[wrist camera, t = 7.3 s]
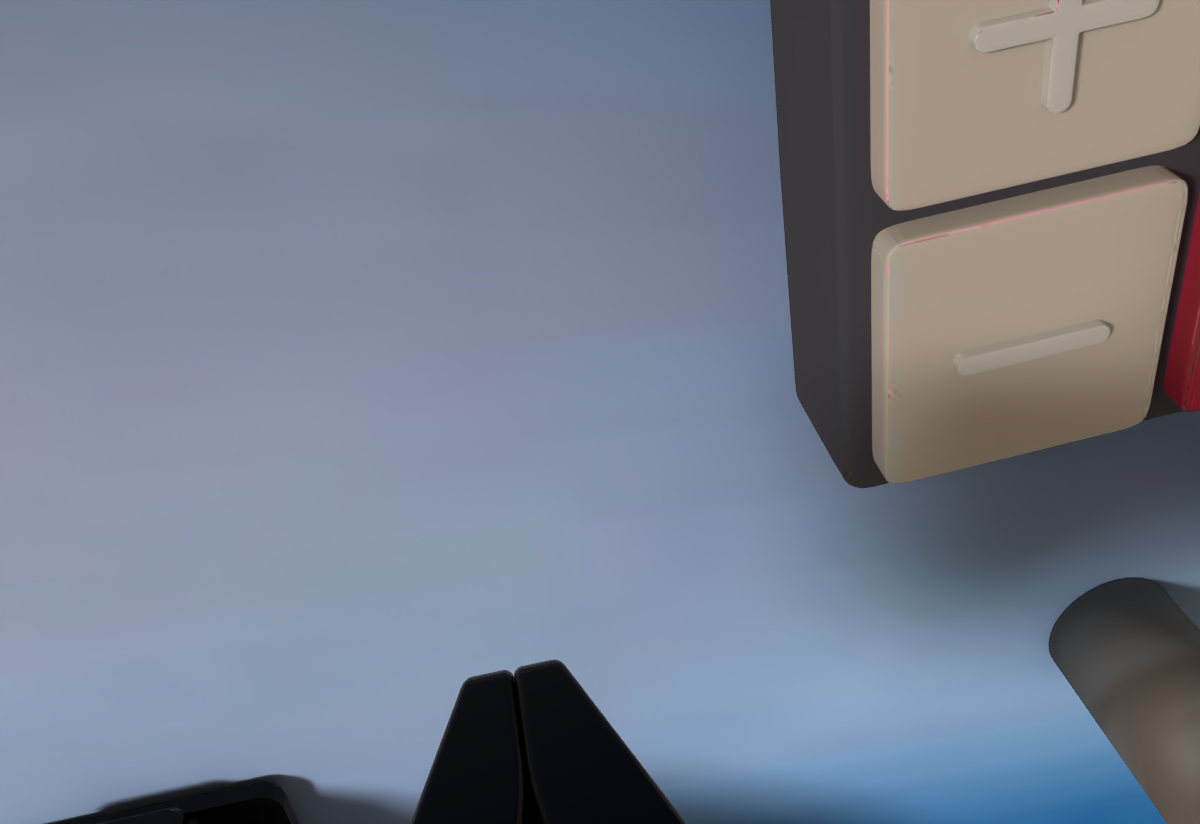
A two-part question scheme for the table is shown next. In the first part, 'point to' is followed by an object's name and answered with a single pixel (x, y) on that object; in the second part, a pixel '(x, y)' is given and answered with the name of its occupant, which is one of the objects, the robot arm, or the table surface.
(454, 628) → the table surface
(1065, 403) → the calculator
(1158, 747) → the seat bracket
